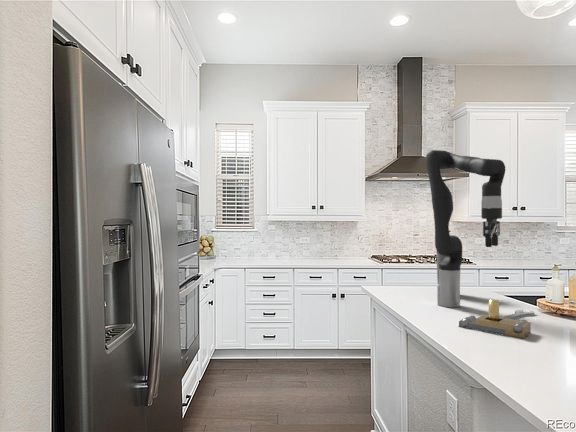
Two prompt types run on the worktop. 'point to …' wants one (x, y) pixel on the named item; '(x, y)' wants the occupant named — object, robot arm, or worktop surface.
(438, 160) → the robot arm
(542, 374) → the worktop surface
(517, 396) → the worktop surface
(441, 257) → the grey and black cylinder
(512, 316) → the adjustable wrench
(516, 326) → the brass frame with rod
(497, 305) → the pin
